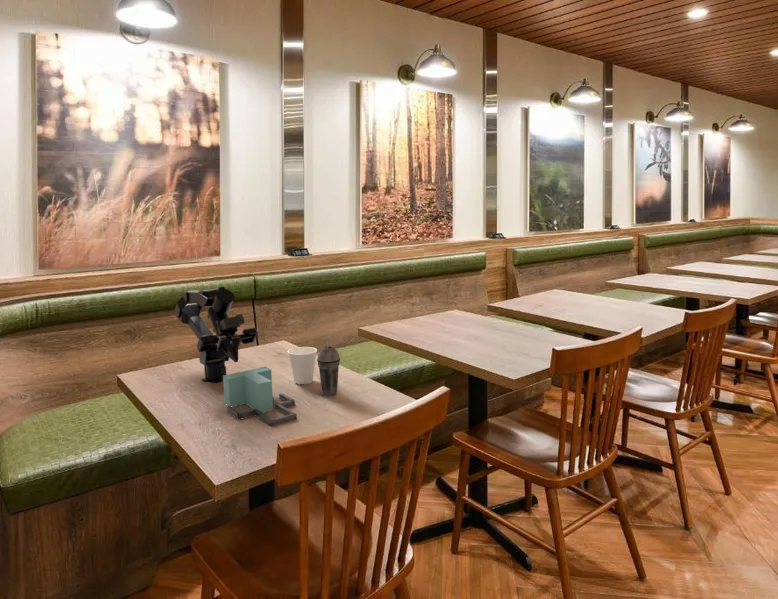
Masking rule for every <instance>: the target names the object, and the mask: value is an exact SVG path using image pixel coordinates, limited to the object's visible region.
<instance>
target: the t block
mask: <svg viewBox="0 0 778 599" xmlns="http://www.w3.org/2000/svg"><path fill="white" fill-rule="evenodd" d="M222 382H223V396H224V397H223V398H224V405H225V404H227V405H228V406H235V407H237V406H236V405H239V406H241V405H240V404H243V405H247V404H248V405H249V406H248V405H247V406H248V407H250V406H251V407H252V408H251V407H250V408H251V409H253V408H254V409H258V410H259V411H261V412H262V413H263V412H264V413H267V411H268V412H271V411H270V410H272V411H273V410H274V403H273V402H274V401H273V398H274V397H273V377H272V369H271V368H269V367H267V366H263V367H258V368H252V369H248V370H243V371H239V372H233V373H229V374H226V375H224V376H223V380H222ZM245 403H246V404H245ZM227 405H226V406H227ZM228 406H227V407H228Z"/></svg>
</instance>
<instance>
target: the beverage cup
mask: <svg viewBox="0 0 778 599" xmlns="http://www.w3.org/2000/svg"><path fill="white" fill-rule="evenodd" d="M324 335H325V345H326V346H324V347H323V348H321V350H319V352H318V354H317V358H316V361H317V366H318V369H319V379H320V385H321V393H322V396H323V397H324V396H325V398H333V397H335V396H337V393H338V384H339V383H338V382H339V368H340V362H341V356H340V353H339V351H338V350H337V349H336V348H335V347H333V346H329V342H328V333H325V334H324Z"/></svg>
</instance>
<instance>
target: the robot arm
mask: <svg viewBox="0 0 778 599" xmlns="http://www.w3.org/2000/svg"><path fill="white" fill-rule="evenodd" d="M182 294H183V295H182V296H181V298H179V300H178V301H177V302H176V304H175V309H174V316H175V318H176V319H178V320H179V322H180V323H182V324H184V325H188V326H189V328H190V329H191V330H192V332H193V333H194V335H195V336H196V338H197V339H198V342H197V345H196V347H197V351H198V352H199V356H198V359H199V363H200V364H201V365H203V366H204V377H203V378H202V379H201V381H202V382H210V383H220V382H223V376H224V375H227V367H226V363H225V362H229V360H230V359H231V360H232V361H233V362H234V363H238V362H239V347H240V345H241V343H242V344H243V345H247V344H252V343H254V342H255V340H256V338H257V336H258V334H259V332H258V329H256V327H247V328H243V330H242V332H240V333H237V332H238V328H240V327H241V326H242V325H244V324H245V317H244V316H243V314H236V315H234V316H233V317H231V316H229V314H228V312H229V311H230V309H231V308H232V306H233V305H232V304H233V302H234V300H235V293H233V292H232V291H231V290H229V289H226V287H225V286H218V287H217V288H211V289H201V290H197V289H191V290H186V291H184V292H183V293H182ZM203 308H208V310H207V316H206V317H207V319H209V320H210V323H211V325H212V330H210V328H209V327H208V324H206V322H205V321H204V320H203V318H202V317H201V313H202V309H203ZM212 331H213V332H212ZM213 333H215V334H213ZM236 333H237V334H236Z"/></svg>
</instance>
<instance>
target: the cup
mask: <svg viewBox="0 0 778 599" xmlns="http://www.w3.org/2000/svg"><path fill="white" fill-rule="evenodd" d="M317 353H318V349H317V348H315V347H313V346H312V347H311V346H298V347H293V348H290V349H288V350H287V354H288V358H289V361H290V362H289V363H290V368H291V372H292V376H293V381H294V383H295V384H296V383H297V384H296V385H300V384H304V385H309V384H311V383H312V382H313V381H314V374H315V366H316V360H317ZM308 383H309V384H308Z"/></svg>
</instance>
